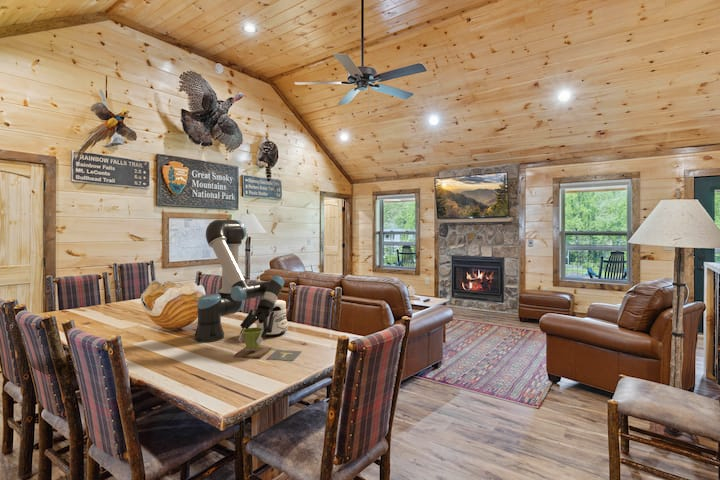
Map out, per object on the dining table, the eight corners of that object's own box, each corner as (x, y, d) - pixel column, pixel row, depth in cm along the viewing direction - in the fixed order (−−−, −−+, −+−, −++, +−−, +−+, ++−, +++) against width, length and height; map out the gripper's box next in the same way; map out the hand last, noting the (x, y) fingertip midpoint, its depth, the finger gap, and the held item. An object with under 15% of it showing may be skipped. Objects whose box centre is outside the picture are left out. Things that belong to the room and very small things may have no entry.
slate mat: (266, 359, 176) (266, 358, 176) (276, 350, 189) (276, 349, 189) (293, 360, 174) (293, 360, 174) (302, 351, 187) (302, 351, 187)
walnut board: (233, 357, 178) (233, 355, 178) (246, 348, 191) (246, 346, 191) (260, 358, 176) (260, 356, 176) (271, 349, 189) (271, 347, 189)
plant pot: (257, 351, 178) (257, 333, 178) (239, 350, 180) (238, 332, 180) (266, 345, 187) (266, 328, 187) (248, 344, 189) (248, 326, 189)
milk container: (288, 336, 212) (288, 304, 211) (256, 338, 208) (256, 306, 207) (286, 328, 229) (286, 298, 228) (256, 330, 224) (256, 299, 224)
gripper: (289, 308, 194) (272, 348, 180) (252, 305, 201) (233, 343, 187) (283, 300, 189) (265, 340, 174) (246, 297, 196) (226, 335, 182)
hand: (249, 342), depth 181 cm, fingers closed on plant pot, 9 cm apart
